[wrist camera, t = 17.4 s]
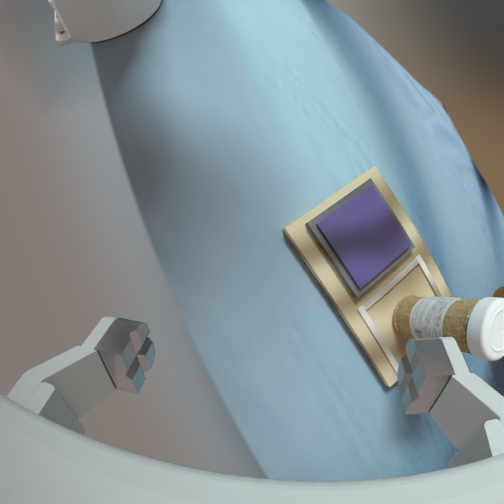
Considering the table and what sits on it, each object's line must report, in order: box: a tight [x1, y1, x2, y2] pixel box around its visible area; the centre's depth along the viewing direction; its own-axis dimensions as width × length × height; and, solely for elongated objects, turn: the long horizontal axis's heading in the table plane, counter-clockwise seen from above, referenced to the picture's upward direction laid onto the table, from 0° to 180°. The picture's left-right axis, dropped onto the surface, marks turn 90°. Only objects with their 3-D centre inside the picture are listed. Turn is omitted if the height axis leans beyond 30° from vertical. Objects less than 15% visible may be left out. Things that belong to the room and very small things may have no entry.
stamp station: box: [283, 166, 453, 387], centre depth 29 cm, size 20×12×2 cm, turn 35°
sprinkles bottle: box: [393, 295, 504, 361], centre depth 22 cm, size 5×5×14 cm
